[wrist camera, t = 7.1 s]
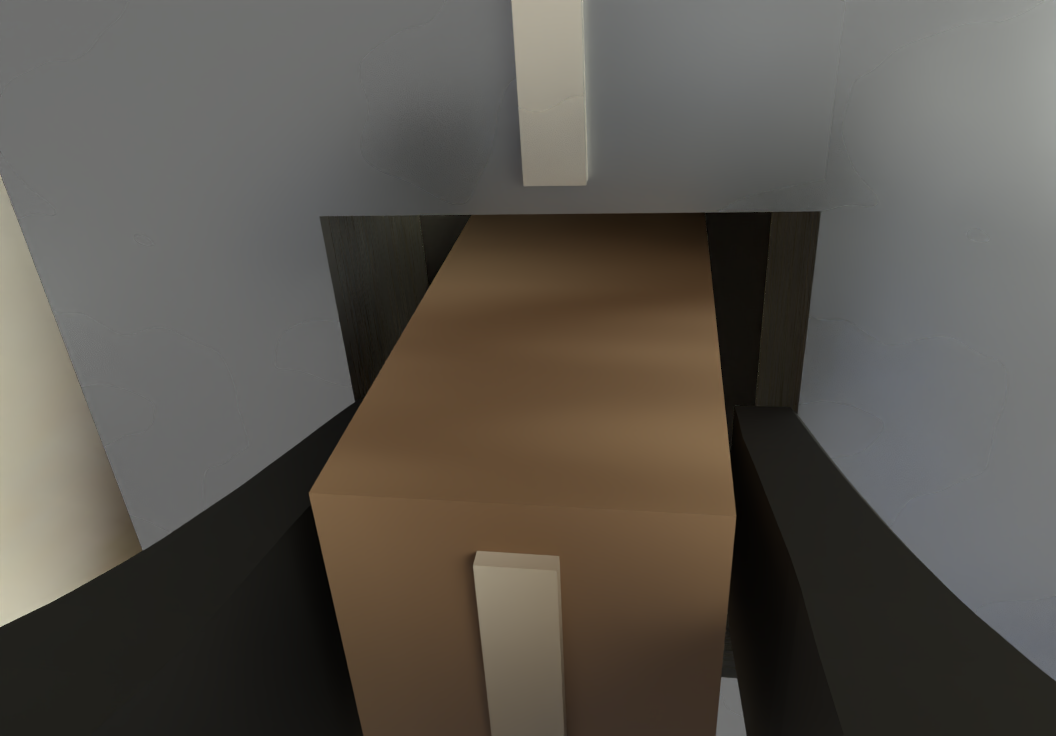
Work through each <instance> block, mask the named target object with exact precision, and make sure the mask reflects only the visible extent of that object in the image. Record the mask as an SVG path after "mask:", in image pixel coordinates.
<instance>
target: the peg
mask: <svg viewBox="0 0 1056 736" xmlns="http://www.w3.org/2000/svg"><path fill="white" fill-rule="evenodd" d="M309 497H310V502H311V506H312V510H313V515H314V519H315V524H316V528H317V533H318V537H319V541H320V546H321V550H322V555H323V559H324V563H325V568H326V572H327V577H328V581H329V586H330V590H331V594H332V599H333V603H334V608H335V612H336V617H337V621H338V625H339V630H340V634H341V639H342V643H343V648H344V652H345V656H346V661H347V665H348V670H349V674H350V679H351V683H352V687H353V692H354V696H355V701H356V705H357V710H358V714H359V718H360V723H361V727H362V732H363V736H716V728H717V717H718V707H719V696H720V685H721V674H722V664H723V653H724V642H725V632H726V621H727V610H728V600H729V589H730V578H731V567H732V557H733V546H734V535H735V525H736V509H735V499H734V489H733V479H732V470H731V460H730V450H729V441H728V431H727V421H726V412H725V402H724V392H723V382H722V373H721V363H720V353H719V344H718V334H717V324H716V315H715V305H714V295H713V285H712V276H711V266H710V256H709V247H708V237H707V227H706V218H705V212H702V213H600V214H497V215H471V217H470V218H469V220H468V222H467V223H466V225H465V227H464V229H463V230H462V232H461V234H460V235H459V237H458V239H457V240H456V242H455V244H454V246H453V247H452V249H451V251H450V252H449V254H448V256H447V258H446V259H445V261H444V263H443V264H442V266H441V268H440V270H439V271H438V273H437V275H436V276H435V278H434V280H433V281H432V283H431V285H430V287H429V288H428V290H427V292H426V293H425V295H424V297H423V299H422V300H421V302H420V304H419V305H418V307H417V309H416V311H415V312H414V314H413V316H412V317H411V319H410V321H409V323H408V324H407V326H406V328H405V329H404V331H403V333H402V334H401V336H400V338H399V340H398V341H397V343H396V345H395V346H394V348H393V350H392V352H391V353H390V355H389V357H388V358H387V360H386V362H385V364H384V365H383V367H382V369H381V370H380V372H379V374H378V375H377V377H376V379H375V381H374V382H373V384H372V386H371V387H370V389H369V391H368V393H367V394H366V396H365V398H364V399H363V401H362V403H361V405H360V406H359V408H358V410H357V411H356V413H355V415H354V416H353V418H352V420H351V422H350V423H349V425H348V427H347V428H346V430H345V432H344V434H343V435H342V437H341V439H340V440H339V442H338V444H337V446H336V447H335V449H334V451H333V452H332V454H331V456H330V457H329V459H328V461H327V463H326V464H325V466H324V468H323V469H322V471H321V473H320V475H319V476H318V478H317V480H316V481H315V483H314V485H313V487H312V488H311V490H310V492H309Z"/></svg>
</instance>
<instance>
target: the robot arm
mask: <svg viewBox="0 0 1056 736" xmlns="http://www.w3.org/2000/svg"><path fill="white" fill-rule="evenodd" d="M364 398H365V397H362V398H361V399H359V400H357V401H356V402H354V403H353V404H351V405H350V406H348V407H347V408H345V409H344V410H343V411H341V412H340V413H338V414H337V415H336V416H334V417H333V418H332V419H330V420H329V421H328V422H326V423H325V424H323V425H322V426H321V427H319V428H318V429H317V430H315V431H314V432H313V433H311V434H310V435H309V436H308V437H306V438H305V439H304V440H302V441H301V442H300V443H298V444H297V445H296V446H294V447H293V448H292V449H290V450H289V451H287V452H286V453H285V454H283V455H282V456H281V457H279V458H278V459H277V460H275V461H274V462H273V463H271V464H270V465H268V466H267V467H266V468H264V469H263V470H262V471H260V472H259V473H258V474H256V475H255V476H254V477H252V478H251V479H249V480H248V481H247V482H245V483H244V484H243V485H241V486H240V487H238V488H237V489H235V490H234V491H233V492H231V493H230V494H228V495H227V496H225V497H224V498H222V499H221V500H219V501H218V502H216V503H215V504H213V505H212V506H210V507H209V508H207V509H206V510H204V511H203V512H201V513H200V514H198V515H197V516H195V517H194V518H192V519H191V520H189V521H188V522H186V523H185V524H184V525H182V526H181V527H179V528H178V529H176V530H175V531H173V532H172V533H170V534H169V535H167V536H166V537H164V538H163V539H161V540H159V541H158V542H156V543H155V544H153V545H151V546H150V547H148V548H146V549H145V550H143V551H142V552H140V553H138V554H137V555H135V556H133V557H132V558H130V559H128V560H127V561H125V562H123V563H121V564H120V565H118V566H116V567H114V568H113V569H111V570H109V571H107V572H106V573H104V574H102V575H100V576H98V577H97V578H95V579H93V580H91V581H90V582H88V583H86V584H84V585H82V586H81V587H79V588H77V589H75V590H74V591H72V592H70V593H68V594H66V595H64V596H62V597H60V598H59V599H57V600H55V601H53V602H51V603H49V604H47V605H45V606H43V607H41V608H39V609H37V610H35V611H33V612H31V613H29V614H27V615H25V616H22V617H20V618H18V619H16V620H14V621H12V622H10V623H8V624H6V625H4V626H2V627H0V736H363V732H362V727H361V723H360V718H359V714H358V710H357V705H356V701H355V696H354V692H353V687H352V683H351V679H350V674H349V670H348V665H347V661H346V656H345V652H344V648H343V643H342V639H341V634H340V630H339V625H338V621H337V617H336V612H335V608H334V603H333V599H332V594H331V590H330V586H329V581H328V577H327V572H326V568H325V563H324V559H323V555H322V550H321V546H320V541H319V537H318V533H317V528H316V524H315V519H314V515H313V510H312V506H311V502H310V497H309V492H310V490H311V488H312V487H313V485H314V483H315V481H316V480H317V478H318V476H319V475H320V473H321V471H322V469H323V468H324V466H325V464H326V463H327V461H328V459H329V457H330V456H331V454H332V452H333V451H334V449H335V447H336V446H337V444H338V442H339V440H340V439H341V437H342V435H343V434H344V432H345V430H346V428H347V427H348V425H349V423H350V422H351V420H352V418H353V416H354V415H355V413H356V411H357V410H358V408H359V406H360V405H361V403H362V401H363V399H364ZM731 470H732V479H733V489H734V499H735V509H736V525H735V535H734V546H733V557H732V567H731V578H730V589H729V600H728V625H729V631H730V637H731V644H732V650H733V656H734V662H735V668H736V674H737V681H738V687H739V693H740V699H741V705H742V711H743V717H744V723H745V729H746V735H747V736H1056V681H1055V680H1054V679H1052V678H1051V677H1050V676H1049V675H1047V674H1046V673H1045V672H1044V671H1042V670H1041V669H1040V668H1039V667H1037V666H1036V665H1035V664H1034V663H1032V662H1031V661H1030V660H1029V659H1028V658H1027V657H1025V656H1024V655H1023V654H1022V653H1021V652H1020V651H1018V650H1017V649H1016V648H1015V647H1014V646H1013V645H1011V644H1010V643H1009V642H1008V641H1007V640H1006V639H1004V638H1003V637H1002V636H1001V635H1000V634H998V633H997V632H996V631H995V630H994V629H993V628H991V627H990V626H989V625H988V624H987V623H986V622H984V621H983V620H982V619H981V618H980V617H979V616H977V615H976V614H975V613H974V612H973V611H972V610H971V609H970V608H969V607H968V606H966V605H965V604H964V603H963V602H962V601H961V600H960V599H959V598H958V597H957V596H956V595H955V594H954V593H953V592H952V591H951V590H950V589H949V588H948V587H947V586H946V585H945V584H944V583H943V582H942V581H941V580H940V579H939V578H938V577H937V576H936V575H935V574H934V573H933V572H932V571H931V570H930V569H929V568H928V567H927V566H926V565H925V564H924V563H923V562H922V561H921V560H920V559H919V558H918V557H917V556H916V555H915V554H914V553H913V552H912V551H911V550H910V549H909V548H908V547H907V546H906V545H905V544H904V543H903V541H902V540H901V539H900V538H899V537H898V536H897V535H896V534H895V533H894V532H893V531H892V530H891V528H890V527H889V526H888V525H887V524H886V523H885V522H884V520H883V519H882V518H881V517H880V516H879V515H878V514H877V513H876V511H875V510H874V509H873V508H872V507H871V506H870V505H869V504H868V502H867V501H866V500H865V499H864V498H863V497H862V496H861V494H860V493H859V492H858V491H857V490H856V488H855V487H854V486H853V485H852V484H851V482H850V481H849V480H848V479H847V478H846V476H845V475H844V474H843V473H842V471H841V470H840V469H839V468H838V466H837V465H836V464H835V463H834V461H833V460H832V459H831V458H830V456H829V455H828V454H827V453H826V451H825V450H824V449H823V447H822V446H821V445H820V443H819V442H818V441H817V439H816V438H815V437H814V436H813V434H812V433H811V431H810V430H809V429H808V427H807V426H806V425H805V423H804V422H803V421H802V419H801V418H800V417H799V416H798V415H797V414H796V412H795V411H794V410H793V409H792V408H791V407H769V406H734V418H733V432H732V446H731Z"/></svg>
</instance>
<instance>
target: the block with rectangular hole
mask: <svg viewBox="0 0 1056 736" xmlns="http://www.w3.org/2000/svg"><path fill="white" fill-rule="evenodd" d="M0 174H1V177H2V179H3V182H4V185H5V187H6V190H7V193H8V195H9V198H10V201H11V203H12V206H13V208H14V211H15V214H16V216H17V219H18V222H19V224H20V227H21V230H22V232H23V235H24V238H25V240H26V243H27V246H28V248H29V251H30V253H31V256H32V259H33V261H34V264H35V267H36V269H37V272H38V275H39V277H40V280H41V283H42V285H43V288H44V291H45V293H46V296H47V298H48V301H49V304H50V306H51V309H52V312H53V314H54V317H55V320H56V322H57V325H58V328H59V330H60V333H61V336H62V338H63V341H64V343H65V346H66V349H67V351H68V354H69V357H70V359H71V362H72V365H73V367H74V370H75V373H76V375H77V378H78V381H79V383H80V386H81V388H82V391H83V394H84V396H85V399H86V402H87V404H88V407H89V410H90V412H91V415H92V418H93V420H94V423H95V426H96V428H97V431H98V433H99V436H100V439H101V441H102V444H103V447H104V449H105V452H106V455H107V457H108V460H109V463H110V465H111V468H112V470H113V473H114V476H115V478H116V481H117V484H118V486H119V489H120V492H121V494H122V497H123V500H124V502H125V505H126V508H127V510H128V513H129V515H130V518H131V521H132V523H133V526H134V529H135V531H136V534H137V537H138V539H139V542H140V545H141V547H142V550H145V549H146V548H148V547H150V546H151V545H153V544H155V543H156V542H158V541H159V540H161V539H163V538H164V537H166V536H167V535H169V534H170V533H172V532H173V531H175V530H176V529H178V528H179V527H181V526H182V525H184V524H185V523H186V522H188V521H189V520H191V519H192V518H194V517H195V516H197V515H198V514H200V513H201V512H203V511H204V510H206V509H207V508H209V507H210V506H212V505H213V504H215V503H216V502H218V501H219V500H221V499H222V498H224V497H225V496H227V495H228V494H230V493H231V492H233V491H234V490H235V489H237V488H238V487H240V486H241V485H243V484H244V483H245V482H247V481H248V480H249V479H251V478H252V477H254V476H255V475H256V474H258V473H259V472H260V471H262V470H263V469H264V468H266V467H267V466H268V465H270V464H271V463H273V462H274V461H275V460H277V459H278V458H279V457H281V456H282V455H283V454H285V453H286V452H287V451H289V450H290V449H292V448H293V447H294V446H296V445H297V444H298V443H300V442H301V441H302V440H304V439H305V438H306V437H308V436H309V435H310V434H311V433H313V432H314V431H315V430H317V429H318V428H319V427H321V426H322V425H323V424H325V423H326V422H328V421H329V420H330V419H332V418H333V417H334V416H336V415H337V414H338V413H340V412H341V411H343V410H344V409H345V408H347V407H348V406H350V405H351V404H353V403H354V402H356V401H357V400H359V399H361V398H362V397H365V396H366V394H367V393H368V391H369V389H370V387H371V386H372V384H373V382H374V381H375V379H376V377H377V375H378V374H379V372H380V370H381V369H382V367H383V365H384V364H385V362H386V360H387V358H388V357H389V355H390V353H391V352H392V350H393V348H394V346H395V345H396V343H397V341H398V340H399V338H400V336H401V334H402V333H403V331H404V329H405V328H406V326H407V324H408V323H409V321H410V319H411V317H412V316H413V314H414V312H415V311H416V309H417V307H418V305H419V304H420V302H421V300H422V299H423V297H424V295H425V293H426V292H427V290H428V288H429V285H428V277H427V269H426V262H425V254H424V246H423V239H422V231H421V223H420V216H419V215H497V214H600V213H702V212H772V214H771V225H770V237H769V249H768V261H767V272H766V284H765V296H764V307H763V319H762V331H761V342H760V354H759V366H758V378H757V389H756V401H755V406H769V407H791V408H792V409H793V410H794V411H795V412H796V414H797V415H798V416H799V417H800V418H801V419H802V421H803V422H804V423H805V425H806V426H807V427H808V429H809V430H810V431H811V433H812V434H813V436H814V437H815V438H816V439H817V441H818V442H819V443H820V445H821V446H822V447H823V449H824V450H825V451H826V453H827V454H828V455H829V456H830V458H831V459H832V460H833V461H834V463H835V464H836V465H837V466H838V468H839V469H840V470H841V471H842V473H843V474H844V475H845V476H846V478H847V479H848V480H849V481H850V482H851V484H852V485H853V486H854V487H855V488H856V490H857V491H858V492H859V493H860V494H861V496H862V497H863V498H864V499H865V500H866V501H867V502H868V504H869V505H870V506H871V507H872V508H873V509H874V510H875V511H876V513H877V514H878V515H879V516H880V517H881V518H882V519H883V520H884V522H885V523H886V524H887V525H888V526H889V527H890V528H891V530H892V531H893V532H894V533H895V534H896V535H897V536H898V537H899V538H900V539H901V540H902V541H903V543H904V544H905V545H906V546H907V547H908V548H909V549H910V550H911V551H912V552H913V553H914V554H915V555H916V556H917V557H918V558H919V559H920V560H921V561H922V562H923V563H924V564H925V565H926V566H927V567H928V568H929V569H930V570H931V571H932V572H933V573H934V574H935V575H936V576H937V577H938V578H939V579H940V580H941V581H942V582H943V583H944V584H945V585H946V586H947V587H948V588H949V589H950V590H951V591H952V592H953V593H954V594H955V595H956V596H957V597H958V598H959V599H960V600H961V601H962V602H963V603H964V604H965V605H966V606H968V607H969V608H970V609H971V610H972V611H973V612H974V613H975V614H976V615H977V616H979V617H980V618H981V619H982V620H983V621H984V622H986V623H987V624H988V625H989V626H990V627H991V628H993V629H994V630H995V631H996V632H997V633H998V634H1000V635H1001V636H1002V637H1003V638H1004V639H1006V640H1007V641H1008V642H1009V643H1010V644H1011V645H1013V646H1014V647H1015V648H1016V649H1017V650H1018V651H1020V652H1021V653H1022V654H1023V655H1024V656H1025V657H1027V658H1028V659H1029V660H1030V661H1031V662H1032V663H1034V664H1035V665H1036V666H1037V667H1039V668H1040V669H1041V670H1042V671H1044V672H1045V673H1046V674H1047V675H1049V676H1050V677H1051V678H1052V679H1054V680H1055V681H1056V0H0ZM716 736H747V735H746V729H745V723H744V717H743V711H742V705H741V699H740V693H739V687H738V681H737V674H736V668H735V662H734V656H733V650H732V644H731V637H730V631H729V625H728V610H727V621H726V632H725V642H724V653H723V664H722V674H721V685H720V696H719V707H718V717H717V728H716Z"/></svg>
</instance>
